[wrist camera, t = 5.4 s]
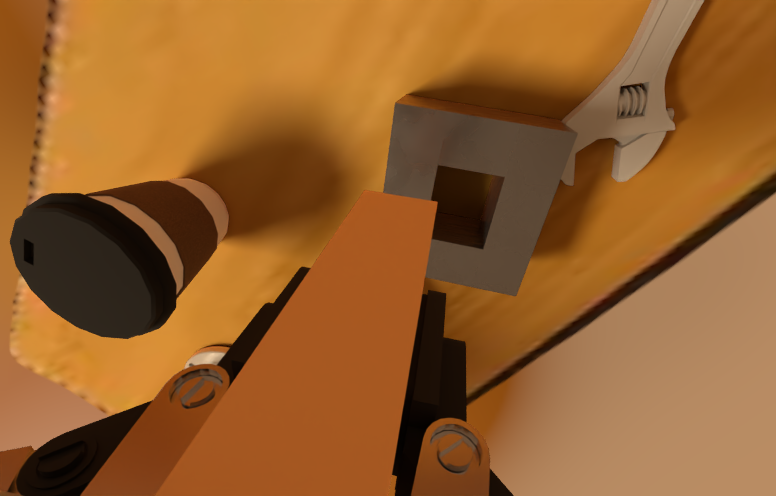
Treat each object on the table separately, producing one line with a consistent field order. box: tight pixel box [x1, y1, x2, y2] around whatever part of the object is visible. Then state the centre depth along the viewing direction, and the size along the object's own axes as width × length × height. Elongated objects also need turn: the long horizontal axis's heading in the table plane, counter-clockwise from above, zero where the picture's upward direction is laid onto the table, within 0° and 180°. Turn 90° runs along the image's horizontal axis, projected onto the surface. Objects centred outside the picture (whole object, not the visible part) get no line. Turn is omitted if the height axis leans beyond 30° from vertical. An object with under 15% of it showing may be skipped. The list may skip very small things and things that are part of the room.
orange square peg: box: [155, 190, 438, 496], centre depth 11 cm, size 3×4×12 cm
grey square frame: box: [383, 94, 578, 296], centre depth 26 cm, size 12×11×5 cm
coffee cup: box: [10, 178, 229, 339], centre depth 29 cm, size 11×11×12 cm
